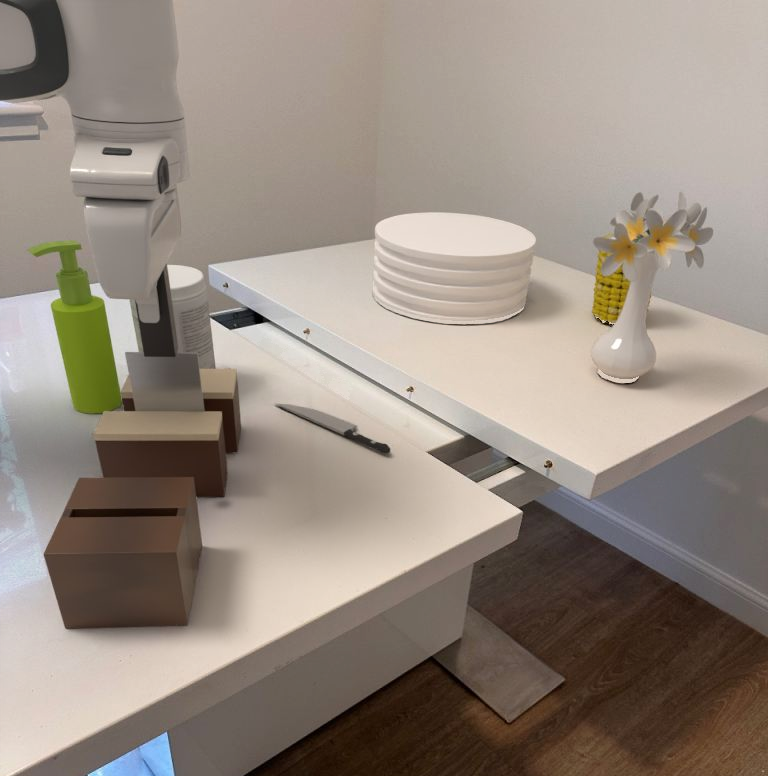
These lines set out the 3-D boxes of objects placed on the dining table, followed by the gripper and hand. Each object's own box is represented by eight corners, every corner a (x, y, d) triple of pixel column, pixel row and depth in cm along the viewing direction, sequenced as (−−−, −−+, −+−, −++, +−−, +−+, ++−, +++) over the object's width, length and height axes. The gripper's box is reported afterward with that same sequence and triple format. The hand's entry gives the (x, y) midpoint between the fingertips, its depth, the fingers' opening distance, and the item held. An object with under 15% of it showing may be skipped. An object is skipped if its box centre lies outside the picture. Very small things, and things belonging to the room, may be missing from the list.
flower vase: (553, 386, 103) (591, 201, 88) (598, 347, 115) (638, 179, 101) (642, 414, 97) (698, 220, 82) (679, 369, 110) (734, 195, 95)
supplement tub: (210, 366, 102) (200, 261, 94) (222, 395, 95) (212, 285, 87) (140, 373, 99) (123, 266, 91) (146, 403, 92) (128, 290, 84)
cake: (131, 453, 82) (120, 391, 78) (141, 427, 87) (131, 367, 83) (237, 453, 84) (232, 392, 79) (241, 427, 89) (236, 368, 84)
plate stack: (410, 264, 147) (414, 205, 140) (543, 290, 137) (554, 227, 131) (345, 304, 126) (346, 236, 119) (496, 337, 117) (507, 266, 110)
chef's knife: (289, 399, 96) (273, 405, 94) (290, 391, 95) (273, 397, 93) (402, 449, 86) (386, 457, 84) (403, 440, 86) (387, 448, 83)
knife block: (64, 628, 60) (43, 554, 55) (95, 547, 68) (79, 477, 64) (187, 625, 61) (176, 551, 56) (202, 546, 69) (193, 476, 65)
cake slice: (107, 498, 75) (93, 433, 70) (116, 473, 79) (103, 410, 74) (224, 497, 76) (217, 433, 72) (227, 472, 80) (221, 411, 75)
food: (646, 339, 123) (586, 335, 125) (642, 302, 131) (586, 299, 133) (668, 257, 112) (602, 253, 114) (663, 221, 120) (601, 219, 121)
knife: (139, 444, 76) (105, 263, 64) (142, 434, 77) (110, 256, 66) (206, 444, 76) (185, 265, 65) (208, 434, 78) (188, 258, 67)
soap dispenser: (58, 402, 91) (19, 240, 80) (110, 388, 95) (81, 232, 84) (75, 420, 88) (38, 254, 76) (129, 405, 92) (101, 245, 80)
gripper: (120, 132, 68) (140, 277, 76) (62, 177, 52) (95, 356, 60) (188, 136, 69) (201, 279, 77) (151, 181, 53) (172, 357, 61)
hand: (154, 313), depth 68 cm, fingers closed on knife, 2 cm apart
